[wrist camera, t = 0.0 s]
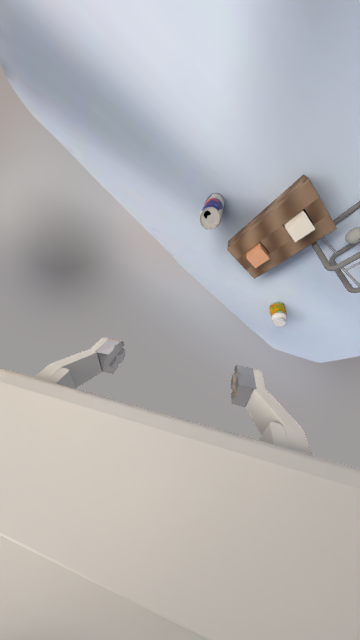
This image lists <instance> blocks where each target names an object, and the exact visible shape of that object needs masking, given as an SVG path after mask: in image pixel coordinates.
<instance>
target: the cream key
mask: <svg viewBox="0 0 360 640" xmlns="http://www.w3.org/2000/svg"><path fill="white" fill-rule="evenodd" d="M284 226H285V228H286V230H287V232H288V233H289V234H290V236H291V237H292V239H293V240H294V242H297V241H298V240H300V239H301V238H303V237H304V236H306V235H307V234H309V233H310V232H312V231H313V230H315V228H314V226H313V225H312V223H311V221H310V220H309V218H308V216H307V215H306V213H305V212H304V211H303V210H302V211H300V212H299V213H298V214H296V215H295V216H294V217H292V218H291V219H290V220H288V221H287V222H286V223H285V224H284Z"/></svg>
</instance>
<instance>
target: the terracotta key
mask: <svg viewBox="0 0 360 640" xmlns="http://www.w3.org/2000/svg"><path fill="white" fill-rule="evenodd" d="M246 257H247V260H248V261H249V262H250V263H251V264H252V265H253V266H254V267H255V268H257V267H258V266H260V265H261V264H263V263H264V262H266V261H267V260H269V259H270V258H269V253H268V251H267V250H266V249H265V247H264V246H263V245H262V244H261V242H259V243H258V244H257V245H255V246H254V247H253V248H251V249H250V250H249V251H247V252H246Z"/></svg>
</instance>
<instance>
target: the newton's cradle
mask: <svg viewBox="0 0 360 640" xmlns="http://www.w3.org/2000/svg"><path fill="white" fill-rule="evenodd" d="M359 207H360V201H359V202H358V203H357V204H355V205H354V206H353V207H351V208H350V209H349V210H347V211H346V212H345V213H343V214H342V215H341V216H339V217H338V218H337V219H335V220H334V221H333V223H334V224H335V225H336V224H337V223H338V222H340V221H341V220H342V219H344V218H345V217H347V216H348V215H349V214H351V213H352V212H353V211H355V210H356V209H358V208H359ZM321 239H322V240H323V241H324V242H325V243H326V244H327V245H328V246H329V247H330V249H331V250H332V251H333V252H334V253H335V254H333V255H332V256H331V258H330V260H329V261H328V260H327V258H326V256H325V255H324V253H323V252H322V250H321V249H320V247H319V245H318V244H317V242H314V243H312V246H313V248H314V250H315V251H316V253H317V255H318V257H319V258H320V260H321V262H322V263H323V265H324V267H325V269H327V270H329V271H335V272H336V273H337V275H338V277H339V278H340V280H341V281H342V283H343V285H344V286H345V288H346V289H347V290H348V291H349V292H352V293H358V292H360V283H358V282H357V281H356V280H355V279H354V278H353V277H352V276H351V275H350V274H349V273H348V272H347V270H349V269H351V268H353V267H355V266H357V265H359V264H360V262H358V263H356V264H355V265H353V266H351V267H349V268H347V269H345V268H344V266H346V265H348V264H350V263H352V262H353V261H355V260H357V259H359V258H360V252H358V253H357V254H355V255H353V256H351V257H350V258H348V259H346V260H344V261H343V262H341V263H339V264H336V262H335V261H334V259H335V258H336V257H337V256H339V255H340V254H342V253H344V252H345V251H347V250H348V249H350V248H352V247H353V246H355V245H357V244H358V243H360V227H358V228H354V229H352V230H350V231H349V232H348V233H347V234H346V237H345V240H346V242H348V243H350V244H349V245H347V246H346V247H344V248H343V249H341V250H339V251H338V252H336V251H335V250H334V249H333V248H332V247H331V246H330V245H329V244H328V243H327V242H326V240H325V239H324V238H323V237H322V238H321ZM329 262H330V263H329ZM340 268H341V269H342V270H343V271H344V272H345V273H346V274H347V275H348V276H349V277H350V278H351V279H352V280H353V281H354V282H355V283H356V284H357V285H358V286H359V288H353V287H352V286H351V284H350V283H349V281H348V280H347V278H346V277H345V275H344V274H343V272H342V271H341V269H340Z"/></svg>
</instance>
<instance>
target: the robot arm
mask: <svg viewBox="0 0 360 640" xmlns="http://www.w3.org/2000/svg"><path fill="white" fill-rule="evenodd" d="M123 346H124V342H123V341H119V340H115V339H110V338H106V337H103V338H102V339H101V340H99V341H98V342H97V343H96V344H95V345H94V346H93V347H92V348H91V349H90V350H89V351H88V350H86V351H83V352H80V353H78V354H75V355H73V356H70V357H67V358H65V359H62V360H59V361H57V362H54V363H51V364H50V365H48V366H47V367H46V368H45V369H43V370H42V371H41V372H40V373H38V374H37V375H36V376H35V377H31V376H27V375H24V374H20V373H17V372H13V371H9V370H6V369H2V368H0V640H360V469H359V468H356V467H352V466H348V465H345V464H341V463H337V462H334V461H330V460H327V459H323V458H320V457H316V456H313V455H312V453H311V450H310V447H309V445H308V442H307V440H306V437H305V434H304V431H303V429H302V428H301V427H300V426H299V425H298V423H297V422H296V421H295V420H294V419H293V418H292V417H291V416H290V415H289V414H288V412H287V411H286V410H284V408H283V407H282V406H281V405H280V404H279V403H278V401H277V400H276V399H275V398H274V397H273V396H272V395H271V394H270V393H269V392H267V391H266V388H265V384H264V380H263V376H262V371H261V370H258V369H253V368H248V367H243V366H238V365H236V366H235V369H234V370H235V373H234V374H233V375H232V380H231V389H232V390H233V391H232V393H231V399H232V404H236V405H239V406H243V407H246V410H247V411H248V413H249V415H250V416H251V418H252V420H253V421H254V423H255V425H256V427H257V428H258V430H259V432H260V433H261V435H262V436H261V437H260V439H259V440H255V439H252V438H249V437H245V436H241V435H238V434H234V433H231V432H227V431H223V430H220V429H217V428H213V427H209V426H206V425H202V424H198V423H195V422H191V421H188V420H184V419H181V418H177V417H174V416H170V415H166V414H163V413H159V412H156V411H152V410H149V409H145V408H141V407H138V406H134V405H131V404H127V403H124V402H120V401H116V400H113V399H109V398H106V397H102V396H99V395H95V394H92V393H88V392H84V391H81V390H77V387H78V386H79V385H81V384H83V383H85V382H86V381H88V380H89V379H91V378H93V377H94V376H96V375H98V374H100V373H101V372H102V371H103V372H108V373H112V374H113V373H114V371H115V370H116V369H117V367H118V364H119V363H121V362H122V361H123V359H124V357H125V350H124V348H123Z"/></svg>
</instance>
